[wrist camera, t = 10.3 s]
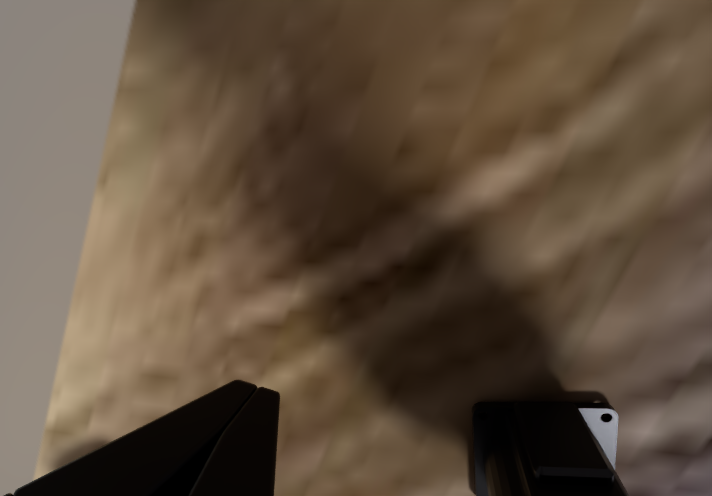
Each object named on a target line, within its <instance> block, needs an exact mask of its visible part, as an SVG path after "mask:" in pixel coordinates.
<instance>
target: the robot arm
mask: <svg viewBox="0 0 712 496" xmlns="http://www.w3.org/2000/svg"><path fill="white" fill-rule="evenodd" d="M279 404H280V394H279V392H277V391H274V390H271V389H267V388H264V387H259V388H257V386H256V385H255V384H252V383H248V382H245V381H242V380H234V381H232V382H230V383H228V384H226V385H224V386H222V387H220V388H218V389H216V390H214V391H212V392H210V393H208V394H206V395H204V396H202V397H200V398H198V399H196V400H194V401H192V402H190V403H188V404H186V405H184V406H182V407H180V408H178V409H176V410H174V411H172V412H170V413H168V414H166V415H164V416H162V417H160V418H158V419H156V420H154V421H152V422H150V423H148V424H146V425H144V426H142V427H140V428H138V429H136V430H134V431H132V432H130V433H128V434H126V435H124V436H122V437H120V438H118V439H116V440H114V441H112V442H110V443H108V444H106V445H104V446H102V447H100V448H98V449H96V450H94V451H92V452H90V453H88V454H86V455H84V456H82V457H80V458H78V459H76V460H74V461H72V462H70V463H68V464H66V465H64V466H62V467H60V468H58V469H56V470H54V471H52V472H50V473H48V474H46V475H44V476H42V477H40V478H38V479H36V480H34V481H32V482H30V483H28V484H26V485H24V486H22V487H20V488H18V489H17V490H16V491H15V493H14V495H12V494H11V493H8V494H6V495H4V496H274V484H275V468H276V452H277V436H278V420H279ZM480 412H486V414H485V415H480V414H479V413H480ZM604 413H608V415H606V416H604V417H602V416H601V415H602V414H604ZM472 424H473V446H474V468H475V491H476V496H629V495H628V493H627V491H626V489H625V487H624V486H623V484H622V482H621V480H620V479H619V477H618V475H617V473H616V472H615V459H616V445H617V430H618V414H617V413H616V411H615V410H614V408H613V407H612V406H611V405H609V404H606V403H571V402H479V403H477V404H475V405H474V406H473V408H472Z"/></svg>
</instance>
